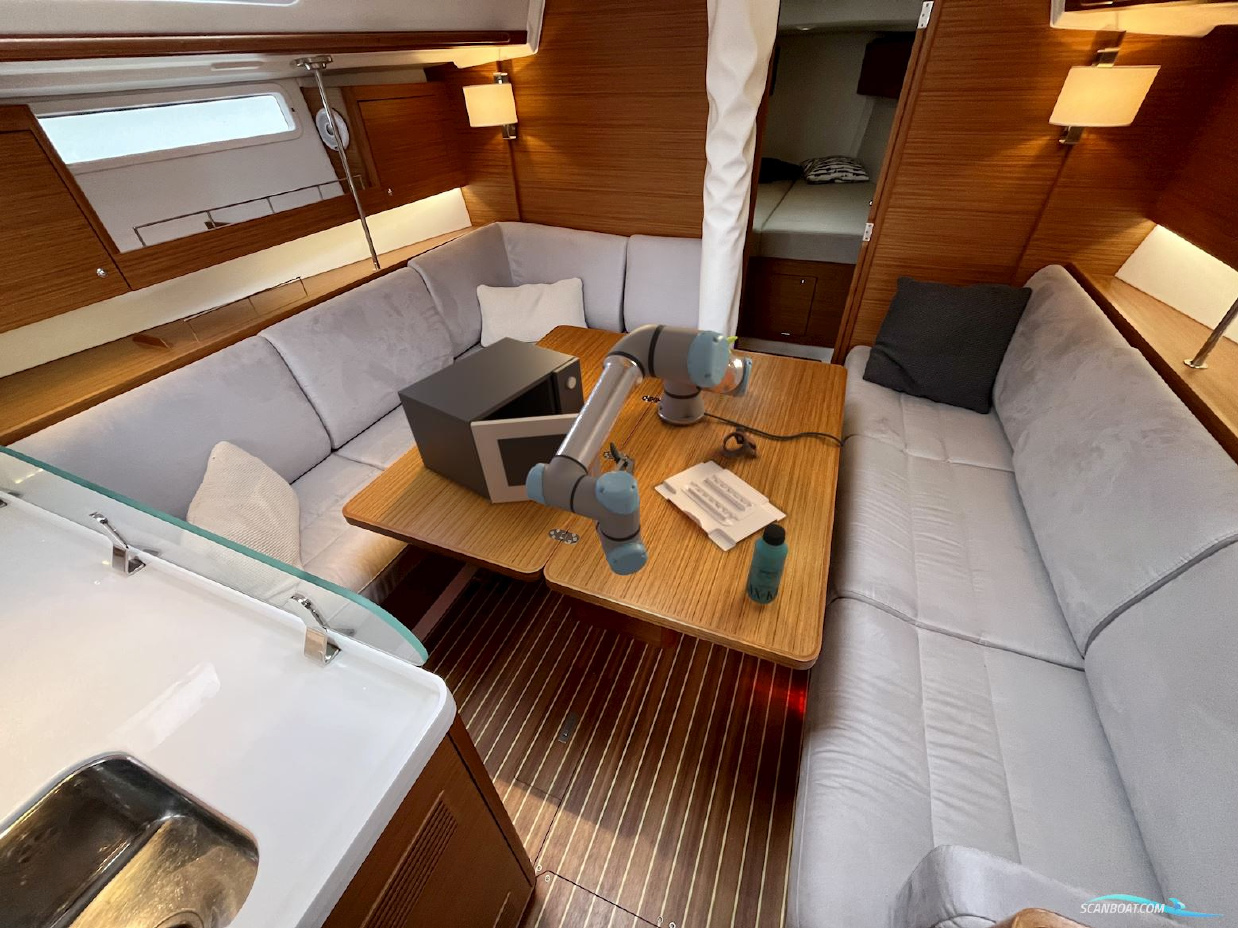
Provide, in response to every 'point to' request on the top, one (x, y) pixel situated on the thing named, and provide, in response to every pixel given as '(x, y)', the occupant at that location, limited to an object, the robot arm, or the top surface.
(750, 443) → the brown looped piece
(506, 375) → the microwave
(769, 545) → the beverage bottle
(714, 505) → the tray
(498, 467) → the microwave door
